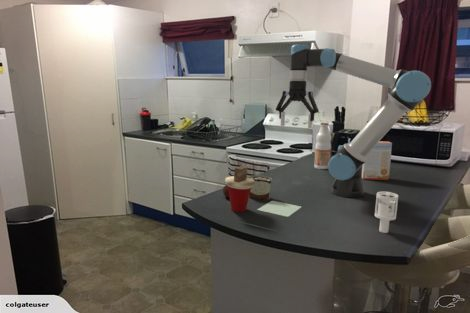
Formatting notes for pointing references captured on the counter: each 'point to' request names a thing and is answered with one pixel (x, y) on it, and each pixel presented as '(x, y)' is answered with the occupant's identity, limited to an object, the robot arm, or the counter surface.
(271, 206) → the mat
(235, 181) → the lid
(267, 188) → the food container
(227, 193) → the potato
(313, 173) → the counter surface
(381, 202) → the white stepped cylinder
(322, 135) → the fruit juice
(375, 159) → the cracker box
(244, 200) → the plastic cup
